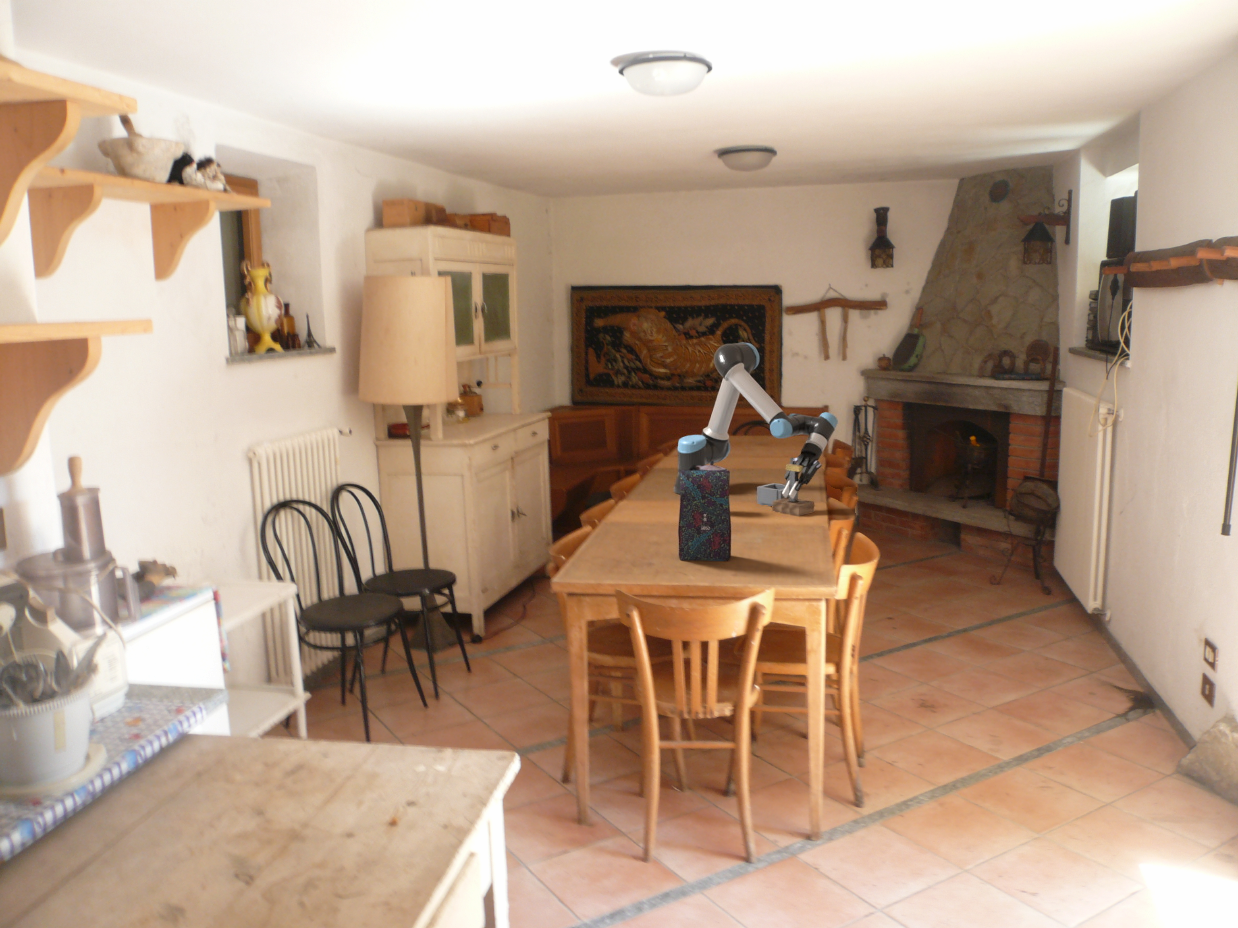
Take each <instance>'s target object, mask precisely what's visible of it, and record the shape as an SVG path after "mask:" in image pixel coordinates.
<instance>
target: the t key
mask: <svg viewBox="0 0 1238 928" xmlns="http://www.w3.org/2000/svg"><path fill="white" fill-rule="evenodd" d="M787 470H790V476H789V493H790V491H791V489H792V487H793V486H794V484H795V482H796V481H798V479H799V474H800V473H801V472H802V471H803V466H801V465H794V464H790V463H787V464H785V471H787ZM799 472H800V473H799ZM798 482H799V481H798ZM798 499H799V491H797V493H796V495H795V497H794V498H793V499H791V497H790V496H789V502H793V503H796V502H798Z"/></svg>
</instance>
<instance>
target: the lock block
mask: <svg viewBox="0 0 1238 928" xmlns="http://www.w3.org/2000/svg"><path fill="white" fill-rule="evenodd" d="M773 511H775V512H774V513H778V512H780V514H784V513H785V515H789V514H791V516H795V517H800V516H804V515H805V516H806V515H809V514H812V513H814V512H815V501H812V500H807V499H801V498H798V502H796V503H793V502H789V497H787V498H783V499H779V500H775V501H773V507H772V512H773ZM811 512H812V513H811Z"/></svg>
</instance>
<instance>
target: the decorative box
mask: <svg viewBox="0 0 1238 928" xmlns="http://www.w3.org/2000/svg"><path fill="white" fill-rule="evenodd" d="M727 470H728V469H727ZM727 470H681V472H680V494H679V501H680V502H679V514H678V529H677V530H678V531H677V533H678V534H677V535H678V558H679V560H680V561H694V562H696V561H697V562H699V561H700V562H706V561H707V562H708V561H709V562H729V561H730V559H731V557H732V521H731V519H732V517H731V508H730V470H728V471H727Z"/></svg>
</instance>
